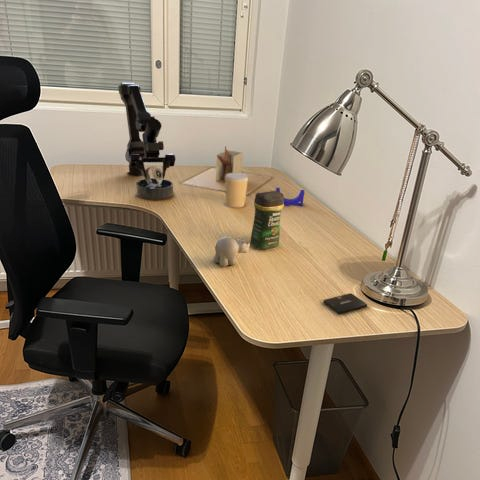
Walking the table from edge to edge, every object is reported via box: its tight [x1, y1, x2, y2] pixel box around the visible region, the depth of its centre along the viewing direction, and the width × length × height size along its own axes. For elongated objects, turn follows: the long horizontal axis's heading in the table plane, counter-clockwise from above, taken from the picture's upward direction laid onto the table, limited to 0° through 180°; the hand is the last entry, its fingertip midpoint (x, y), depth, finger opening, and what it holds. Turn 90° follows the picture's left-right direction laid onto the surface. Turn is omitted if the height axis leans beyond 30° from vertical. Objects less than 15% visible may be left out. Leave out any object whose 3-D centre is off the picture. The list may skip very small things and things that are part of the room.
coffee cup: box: [225, 173, 248, 208], centre depth 190 cm, size 9×9×12 cm
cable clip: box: [275, 187, 305, 207], centre depth 197 cm, size 12×4×6 cm, turn 84°
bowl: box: [135, 177, 174, 201], centre depth 196 cm, size 15×15×5 cm
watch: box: [145, 165, 163, 188], centre depth 194 cm, size 6×8×11 cm
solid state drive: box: [323, 293, 368, 315], centre depth 127 cm, size 7×10×1 cm
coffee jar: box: [249, 189, 285, 250], centre depth 153 cm, size 10×8×19 cm
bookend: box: [214, 146, 246, 182], centre depth 219 cm, size 9×11×17 cm
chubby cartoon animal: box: [213, 236, 250, 267], centre depth 143 cm, size 7×12×8 cm, turn 120°
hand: (155, 178), depth 192 cm, fingers closed on watch, 7 cm apart
